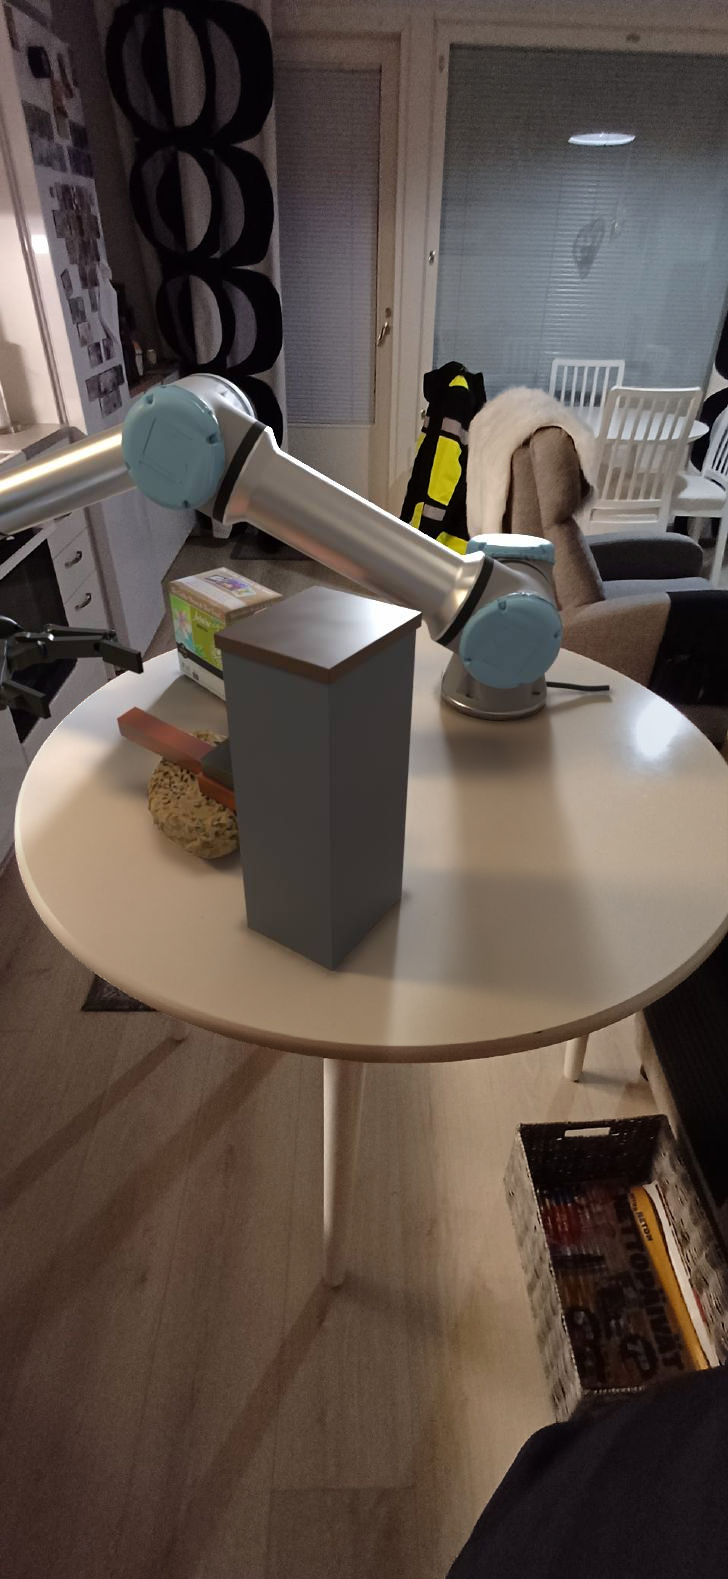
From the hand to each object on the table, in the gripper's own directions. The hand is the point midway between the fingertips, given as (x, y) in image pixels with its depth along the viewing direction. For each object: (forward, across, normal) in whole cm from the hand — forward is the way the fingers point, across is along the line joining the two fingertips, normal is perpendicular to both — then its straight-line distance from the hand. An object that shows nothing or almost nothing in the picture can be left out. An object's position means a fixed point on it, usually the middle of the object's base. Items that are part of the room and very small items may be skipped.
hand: (95, 684), depth 89 cm
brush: (+16, 0, -5) cm, 16 cm away
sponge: (+16, 0, -12) cm, 20 cm away
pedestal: (+36, +5, -12) cm, 38 cm away
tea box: (-5, -27, -12) cm, 30 cm away
